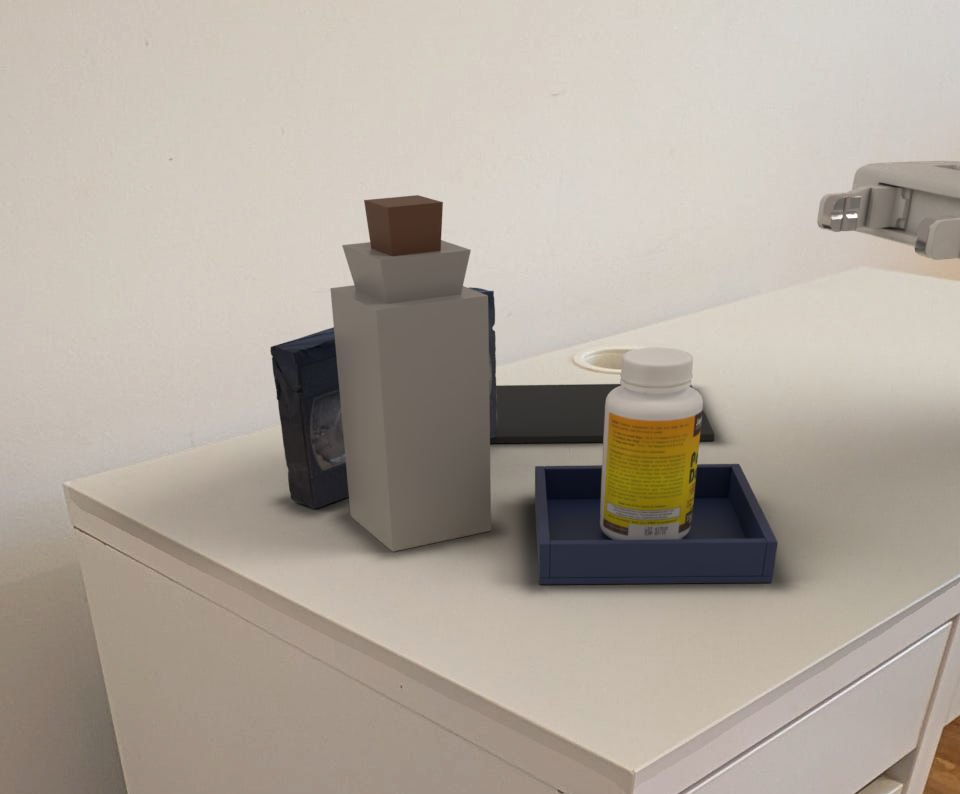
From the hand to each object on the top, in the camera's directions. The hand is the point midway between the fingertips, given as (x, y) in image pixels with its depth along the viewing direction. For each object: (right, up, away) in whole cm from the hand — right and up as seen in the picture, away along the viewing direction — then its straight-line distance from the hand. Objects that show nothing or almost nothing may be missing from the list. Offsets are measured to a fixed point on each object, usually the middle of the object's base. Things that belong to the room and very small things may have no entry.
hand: (871, 225), depth 62 cm
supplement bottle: (-11, -15, +7) cm, 20 cm away
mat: (-13, 0, +28) cm, 31 cm away
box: (-11, -15, +7) cm, 20 cm away
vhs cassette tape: (-27, -7, +18) cm, 33 cm away
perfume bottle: (-25, -14, +10) cm, 31 cm away
